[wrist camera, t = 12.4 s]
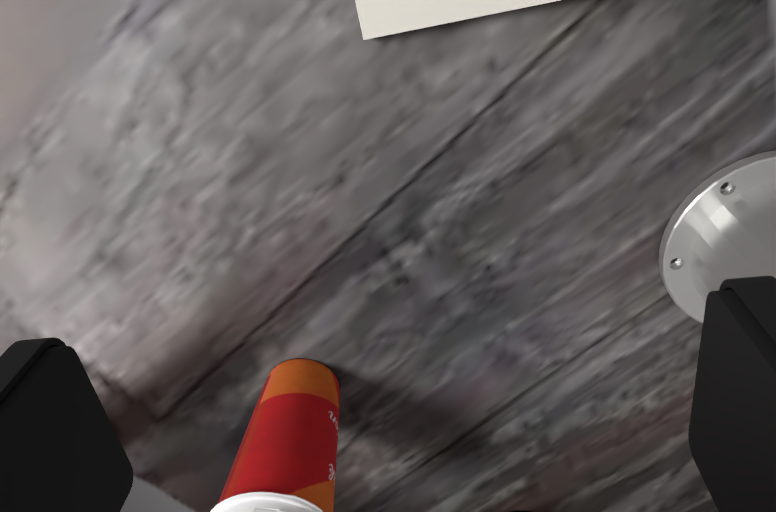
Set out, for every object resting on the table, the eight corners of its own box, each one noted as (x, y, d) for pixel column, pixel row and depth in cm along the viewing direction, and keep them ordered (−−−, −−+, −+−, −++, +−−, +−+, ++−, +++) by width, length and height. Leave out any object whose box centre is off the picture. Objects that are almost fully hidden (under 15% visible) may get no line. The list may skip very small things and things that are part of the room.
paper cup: (311, 437, 50) (279, 612, 38) (232, 387, 47) (171, 556, 35) (376, 384, 47) (363, 556, 35) (295, 327, 44) (252, 491, 32)
